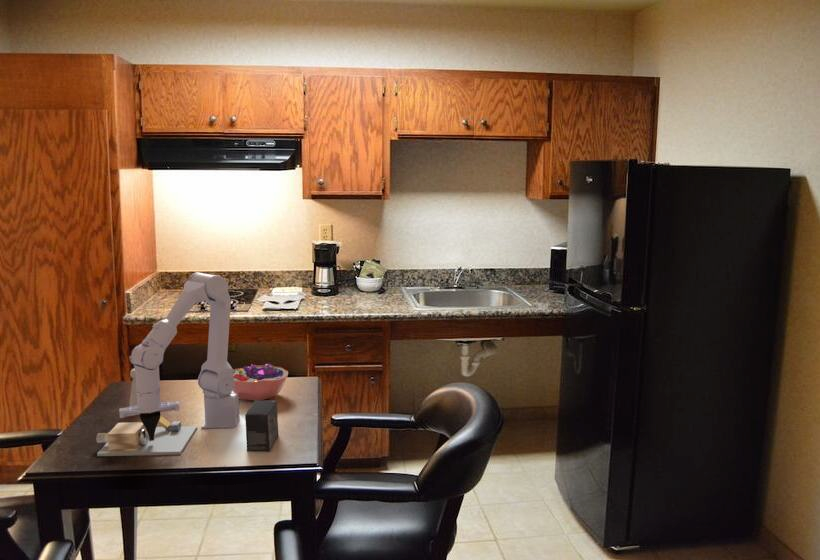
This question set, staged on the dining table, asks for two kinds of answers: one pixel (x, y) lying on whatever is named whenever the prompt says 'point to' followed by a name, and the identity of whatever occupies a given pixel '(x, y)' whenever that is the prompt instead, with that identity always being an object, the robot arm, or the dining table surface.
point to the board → (158, 443)
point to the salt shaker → (133, 389)
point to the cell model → (259, 381)
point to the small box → (261, 426)
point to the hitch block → (125, 436)
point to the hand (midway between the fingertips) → (151, 439)
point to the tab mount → (175, 426)
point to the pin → (142, 437)
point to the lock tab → (164, 423)
